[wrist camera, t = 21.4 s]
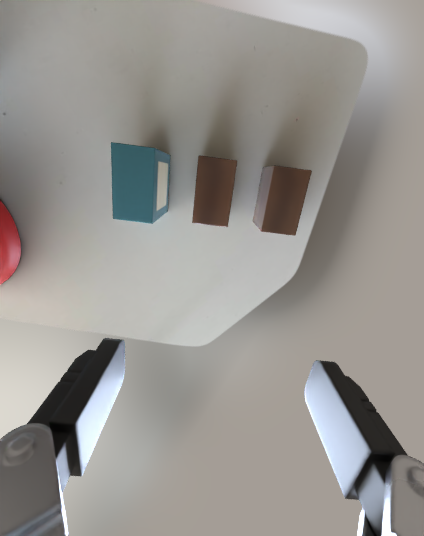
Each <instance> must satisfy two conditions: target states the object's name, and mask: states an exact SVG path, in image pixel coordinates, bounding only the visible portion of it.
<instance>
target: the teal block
mask: <svg viewBox="0 0 424 536" xmlns="http://www.w3.org/2000/svg"><path fill="white" fill-rule="evenodd" d="M170 156H171V155H169V154H167V153H164V152H162V151H160V150H158V149H156V148H150V147H143V146H136V145H128V144H121V143H114V142H111V162H112V202H113V219H119V220H127V221H135V222H143V223H151V224H153V223H154V222H155V221H156V220H157V219H159V218H160V217H161V216H162V215H164V214H165V213H166V212H167V211H168V192H169V174H170Z"/></svg>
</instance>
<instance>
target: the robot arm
mask: <svg viewBox="0 0 424 536" xmlns="http://www.w3.org/2000/svg"><path fill="white" fill-rule="evenodd" d="M124 373H125V342H124V340H120V339H109V338H105V339H103V340H102V342H101V343H100V345H99V346H98V348H97V349H96V351H95V350H87V351H86V352H85V353H83V354H82V355H80V356H79V357H77V358H76V359H75V360H74V362H73V363H72V365H71V366H70V367H69V369H68V371H67V372H66V373H65V374H64V375H63V377H62V378H61V380H60V382H58V384H57V385H56V386H55V388H54V389H53V390H52V392H51V393H50V394H49V395H48V397H47V398H46V400H45V401H44V402H43V404H42V405H41V406H40V407H39V409H38V410H37V412H36V413H35V414H34V416H33V417H32V418H31V420H30V421H29V422H28V423H27V424H26V425H23V426H20V427H18V428H16V429H14V430H12V431H11V432H9V433H8V434H6V435H5V436H3V437H2V438H1V439H0V536H68V530H67V522H66V516H65V508H64V502H63V496H62V492H63V489H64V488H65V486H66V483H67V481H68V479H69V477H70V475H71V476H82V474H83V472H84V470H85V468H86V465H87V463H88V461H89V458H90V456H91V454H92V451H93V449H94V447H95V445H96V442H97V440H98V438H99V435H100V433H101V431H102V428H103V426H104V424H105V422H106V419H107V417H108V415H109V412H110V410H111V408H112V406H113V403H114V401H115V399H116V396H117V394H118V392H119V389H120V387H121V385H122V382H123V378H124ZM305 401H306V404H307V406H308V409H309V411H310V414H311V416H312V419H313V421H314V424H315V426H316V428H317V431H318V433H319V436H320V438H321V440H322V443H323V446H324V448H325V451H326V453H327V455H328V458H329V460H330V463H331V465H332V468H333V470H334V473H335V475H336V477H337V480H338V482H339V485H340V487H341V490H342V492H343V495H344V497H345V499H357V500H359V501H360V503H361V505H362V507H363V510H362V512H361V514H360V519H359V527H358V535H357V536H424V463H422V462H420V461H419V460H417V459H415V458H412V457H410V456H408V455H407V454H406V452H405V451H404V449H403V448H402V446H401V445H400V443H399V442H398V441H397V439H396V438H395V436H394V435H393V434H392V432H391V431H390V429H389V428H388V426H387V425H386V423H385V422H384V420H383V419H382V418H381V416H380V415H379V413H377V412H376V409H375V407H374V406H373V405H372V403H371V402H369V399H368V397H367V396H366V395H365V393H364V392H363V390H362V389H361V387H360V386H358V385H357V384H356V383H355V382H354V381H353V380H352V379H351V378H350V377H347V376H345V375H344V374H343V372H342V371H341V369H340V368H339V366H338V365H337V364H336V363H335V362H328V361H318V360H316V361H315V362H314V363H313V366H312V369H311V372H310V375H309V377H308V380H307V383H306V386H305Z"/></svg>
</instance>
